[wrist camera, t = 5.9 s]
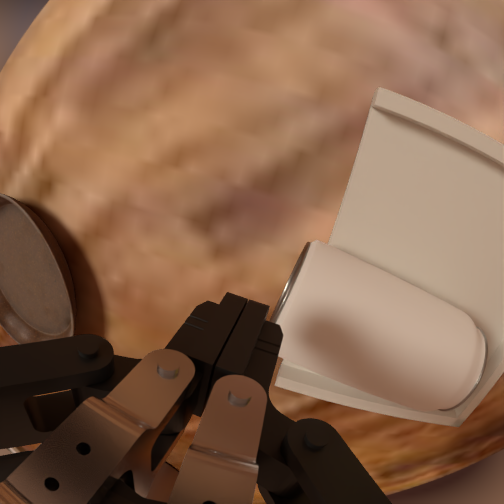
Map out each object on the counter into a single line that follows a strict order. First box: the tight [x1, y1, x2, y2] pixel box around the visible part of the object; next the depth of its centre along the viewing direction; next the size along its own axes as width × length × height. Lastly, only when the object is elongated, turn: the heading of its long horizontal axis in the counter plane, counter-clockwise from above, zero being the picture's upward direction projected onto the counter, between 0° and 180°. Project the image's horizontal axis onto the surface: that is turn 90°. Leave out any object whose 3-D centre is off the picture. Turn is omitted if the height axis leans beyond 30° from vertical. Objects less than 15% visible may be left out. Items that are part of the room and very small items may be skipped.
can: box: [269, 240, 488, 412], centre depth 17 cm, size 6×6×12 cm
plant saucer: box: [0, 193, 76, 344], centre depth 26 cm, size 18×18×3 cm
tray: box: [275, 87, 504, 427], centre depth 18 cm, size 16×20×2 cm
